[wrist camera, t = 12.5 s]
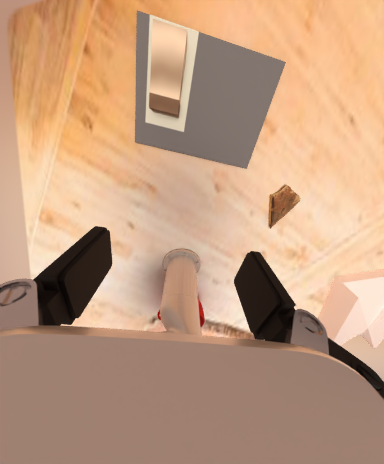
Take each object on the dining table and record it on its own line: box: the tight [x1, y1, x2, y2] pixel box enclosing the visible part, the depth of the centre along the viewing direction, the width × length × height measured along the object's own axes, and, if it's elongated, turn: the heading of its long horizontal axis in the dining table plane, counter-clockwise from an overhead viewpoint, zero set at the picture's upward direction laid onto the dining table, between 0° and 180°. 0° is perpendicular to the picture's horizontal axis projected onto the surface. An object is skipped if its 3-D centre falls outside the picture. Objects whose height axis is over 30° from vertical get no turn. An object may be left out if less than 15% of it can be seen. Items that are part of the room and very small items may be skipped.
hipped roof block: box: [318, 269, 384, 349], centre depth 62 cm, size 45×22×10 cm, turn 12°
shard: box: [269, 185, 300, 228], centre depth 40 cm, size 11×8×2 cm
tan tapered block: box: [149, 19, 187, 118], centre depth 25 cm, size 10×5×4 cm, turn 169°
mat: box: [135, 11, 286, 169], centre depth 29 cm, size 18×26×1 cm
